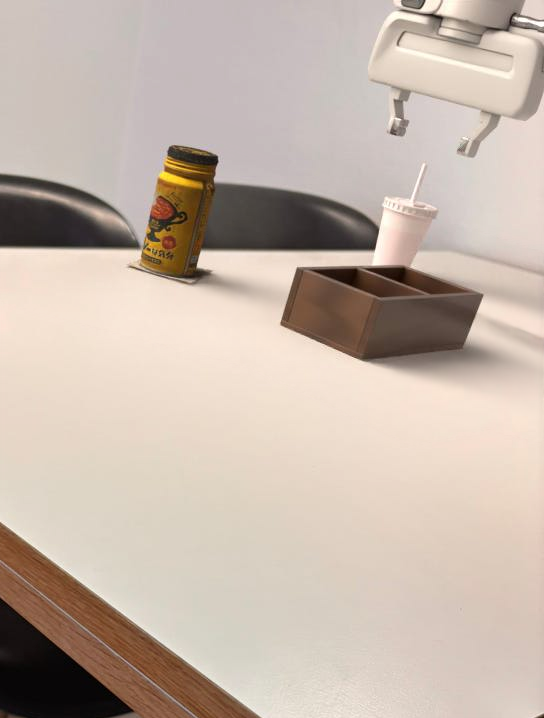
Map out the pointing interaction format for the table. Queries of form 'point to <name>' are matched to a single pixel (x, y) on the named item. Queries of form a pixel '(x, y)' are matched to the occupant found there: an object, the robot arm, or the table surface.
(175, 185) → the condiment
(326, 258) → the table surface
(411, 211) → the smoothie
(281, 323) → the box
